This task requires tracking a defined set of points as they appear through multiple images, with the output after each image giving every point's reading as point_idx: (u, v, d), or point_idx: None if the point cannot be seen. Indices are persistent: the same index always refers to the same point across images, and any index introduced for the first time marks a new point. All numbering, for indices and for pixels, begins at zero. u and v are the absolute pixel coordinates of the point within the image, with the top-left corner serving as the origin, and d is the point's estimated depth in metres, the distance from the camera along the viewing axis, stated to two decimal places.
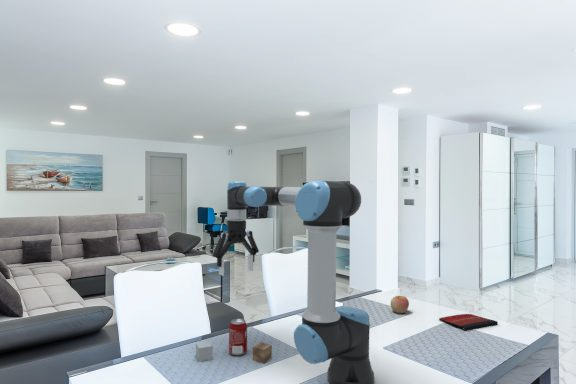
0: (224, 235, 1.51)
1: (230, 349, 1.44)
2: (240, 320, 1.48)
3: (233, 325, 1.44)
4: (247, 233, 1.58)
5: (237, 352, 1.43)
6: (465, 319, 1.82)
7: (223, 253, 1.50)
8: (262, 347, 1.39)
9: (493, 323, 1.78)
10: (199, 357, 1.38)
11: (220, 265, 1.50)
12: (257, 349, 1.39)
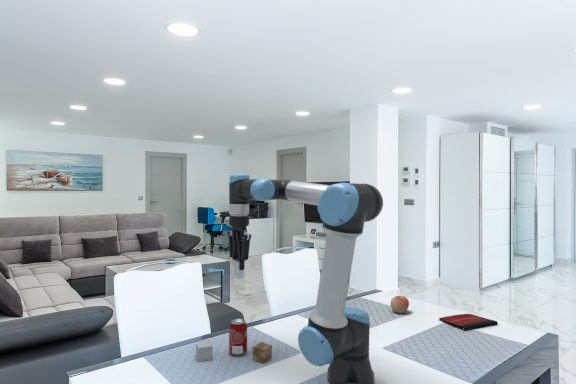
0: (228, 233, 1.49)
1: (230, 349, 1.44)
2: (240, 320, 1.48)
3: (233, 325, 1.44)
4: (244, 234, 1.42)
5: (237, 352, 1.43)
6: (465, 319, 1.82)
7: (233, 253, 1.46)
8: (262, 347, 1.39)
9: (493, 323, 1.78)
10: (199, 357, 1.38)
11: None
12: (257, 349, 1.39)
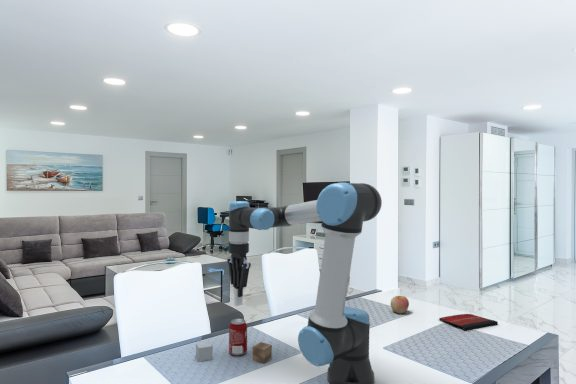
0: (228, 260, 1.49)
1: (230, 349, 1.44)
2: (240, 320, 1.48)
3: (233, 325, 1.44)
4: (244, 262, 1.42)
5: (237, 352, 1.43)
6: (465, 319, 1.82)
7: (233, 280, 1.46)
8: (262, 347, 1.39)
9: (493, 323, 1.78)
10: (199, 357, 1.38)
11: None
12: (257, 349, 1.39)
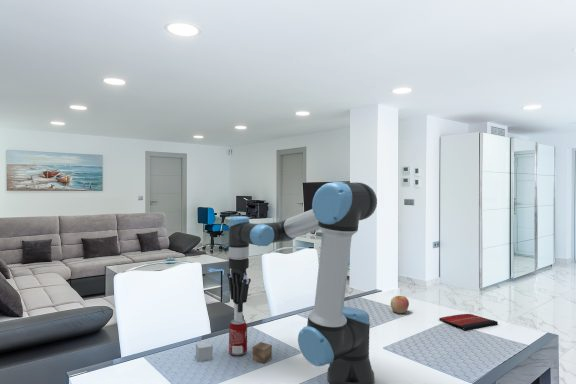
0: (228, 275, 1.49)
1: (230, 349, 1.44)
2: (240, 320, 1.48)
3: (233, 325, 1.44)
4: (244, 278, 1.42)
5: (237, 352, 1.43)
6: (465, 319, 1.82)
7: (233, 296, 1.46)
8: (262, 347, 1.39)
9: (493, 323, 1.78)
10: (199, 357, 1.38)
11: None
12: (257, 349, 1.39)
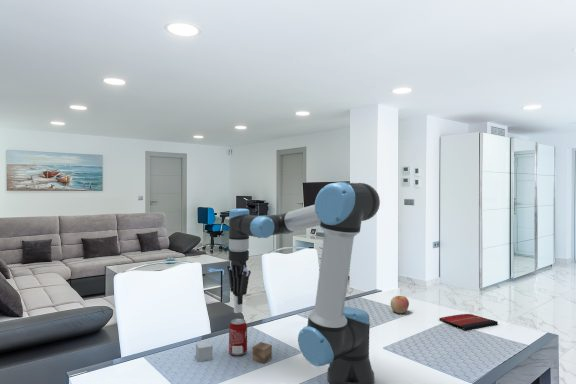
0: (228, 268, 1.49)
1: (230, 349, 1.44)
2: (240, 320, 1.48)
3: (233, 325, 1.44)
4: (244, 270, 1.42)
5: (237, 352, 1.43)
6: (465, 319, 1.82)
7: (233, 288, 1.46)
8: (262, 347, 1.39)
9: (493, 323, 1.78)
10: (199, 357, 1.38)
11: None
12: (257, 349, 1.39)
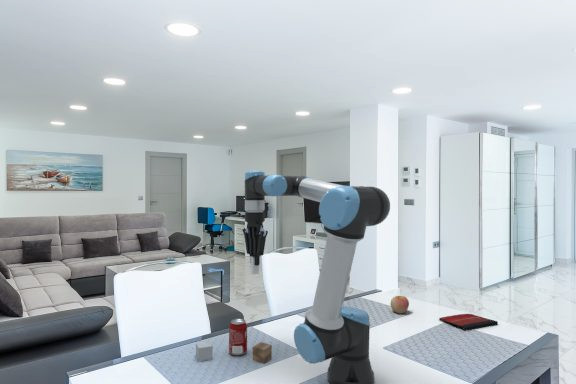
0: (243, 231, 1.50)
1: (230, 349, 1.44)
2: (240, 320, 1.48)
3: (233, 325, 1.44)
4: (261, 230, 1.43)
5: (237, 352, 1.43)
6: (465, 319, 1.82)
7: (250, 249, 1.47)
8: (262, 347, 1.39)
9: (493, 323, 1.78)
10: (199, 357, 1.38)
11: None
12: (257, 349, 1.39)
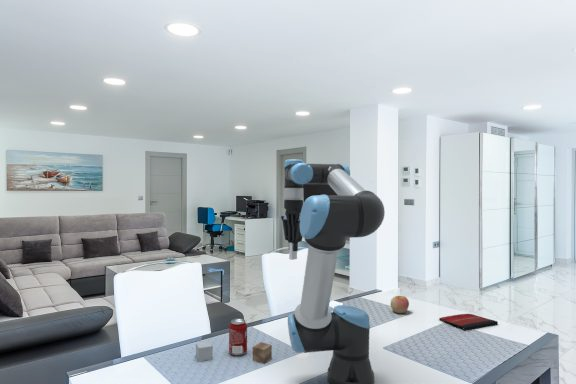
0: (282, 218, 1.55)
1: (230, 349, 1.44)
2: (240, 320, 1.48)
3: (233, 325, 1.44)
4: (300, 217, 1.48)
5: (237, 352, 1.43)
6: (465, 319, 1.82)
7: (288, 236, 1.52)
8: (262, 347, 1.39)
9: (493, 323, 1.78)
10: (199, 357, 1.38)
11: None
12: (257, 349, 1.39)
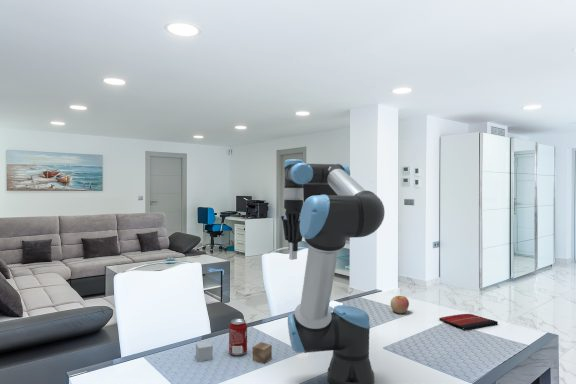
0: (282, 218, 1.55)
1: (230, 349, 1.44)
2: (240, 320, 1.48)
3: (233, 325, 1.44)
4: (300, 217, 1.48)
5: (237, 352, 1.43)
6: (465, 319, 1.82)
7: (288, 236, 1.52)
8: (262, 347, 1.39)
9: (493, 323, 1.78)
10: (199, 357, 1.38)
11: None
12: (257, 349, 1.39)
